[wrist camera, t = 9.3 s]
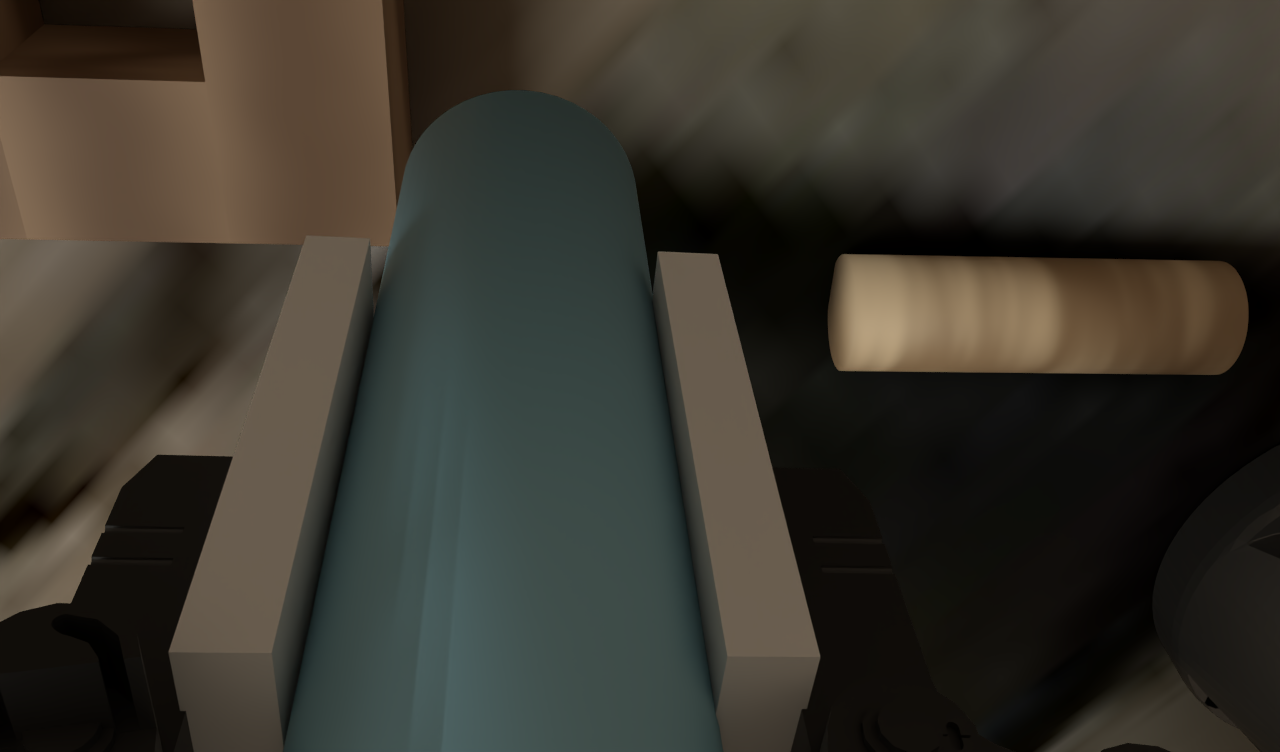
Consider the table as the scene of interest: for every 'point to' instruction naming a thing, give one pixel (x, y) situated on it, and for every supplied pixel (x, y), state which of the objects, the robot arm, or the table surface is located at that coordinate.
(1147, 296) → the lying peg
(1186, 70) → the table surface
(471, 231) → the peg
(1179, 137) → the table surface
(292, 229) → the socket
